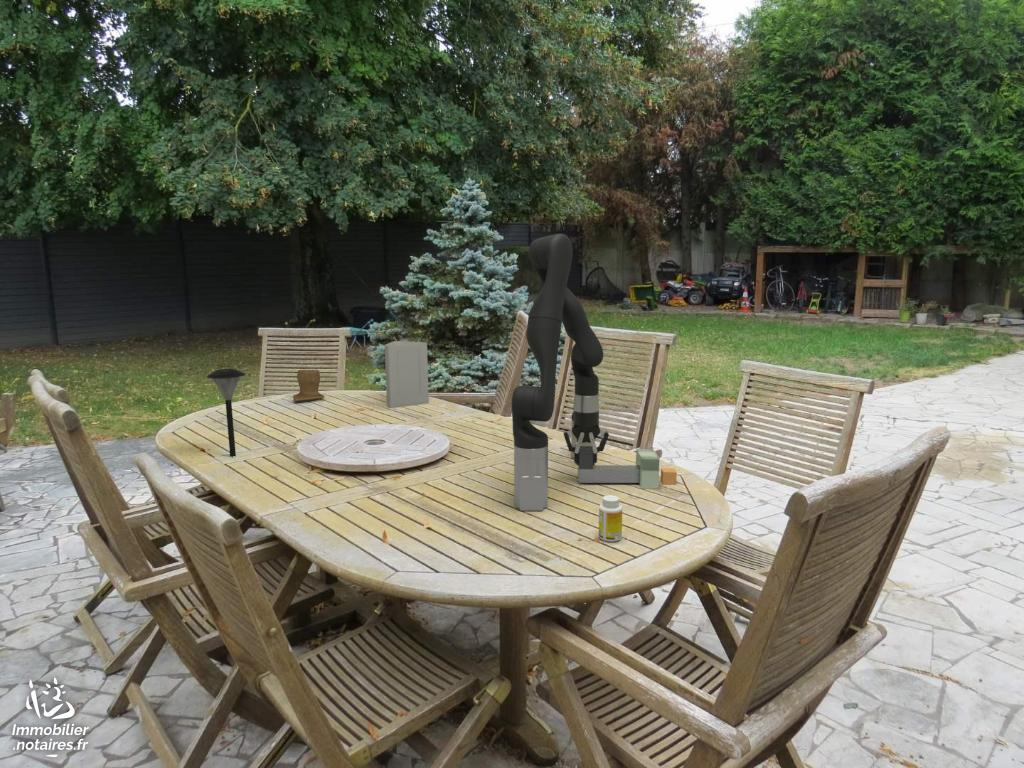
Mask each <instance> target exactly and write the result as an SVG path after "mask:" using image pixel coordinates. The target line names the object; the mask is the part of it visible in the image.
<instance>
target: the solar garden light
mask: <svg viewBox="0 0 1024 768" xmlns="http://www.w3.org/2000/svg"><path fill="white" fill-rule="evenodd" d="M245 375H246V373H245V372H242V371H241V370H238V369H236V368H221V369H217V370H214V371H212V372H211V373H210V374H209V375H207V376H206V378H208V379H212V381H213V382H214V383H215V385H216V387H217V388H218V390H219V392H220V393H221V395H222V397H223V399H224V400H225V401H224V402H225V409H226V411H225V412H226V414H225V415H226V424H227V437H228V449H229V457H230V456H235V457H236V456H237V454H236V453H237V452H236V441H235V430H234V429H235V428H234V417H233V406H232V405H233V404H232V399H233V396H234V393H235V390H236V388H237V385H238V384H239V380H240V378H241V377H244V376H245Z"/></svg>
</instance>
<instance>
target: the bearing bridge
mask: <svg viewBox="0 0 1024 768" xmlns="http://www.w3.org/2000/svg"><path fill="white" fill-rule="evenodd" d="M635 465H639V467H640V483H639V487H640V489H647V490H649V489H652V490H654V489H655V490H656V489H657V490H658V489H659V485H660V483H659V482H660V481H659V479H660V458H659V456H658V455H657V453H656V452H655V450H654V449H653V448H636V451H635Z"/></svg>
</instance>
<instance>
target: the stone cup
mask: <svg viewBox="0 0 1024 768" xmlns="http://www.w3.org/2000/svg"><path fill="white" fill-rule="evenodd" d="M296 380H297V383H298V386H299V392H298V393H296V394H293V396H292V399H293V402H294V403H303V402H311V401H316V400H320V399H323V398H324V399H325V395H324V394H322V393H320V392H319V385H320V383H321V382H320V381H321V373H320V370H318V369H298V370H297V375H296Z"/></svg>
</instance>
